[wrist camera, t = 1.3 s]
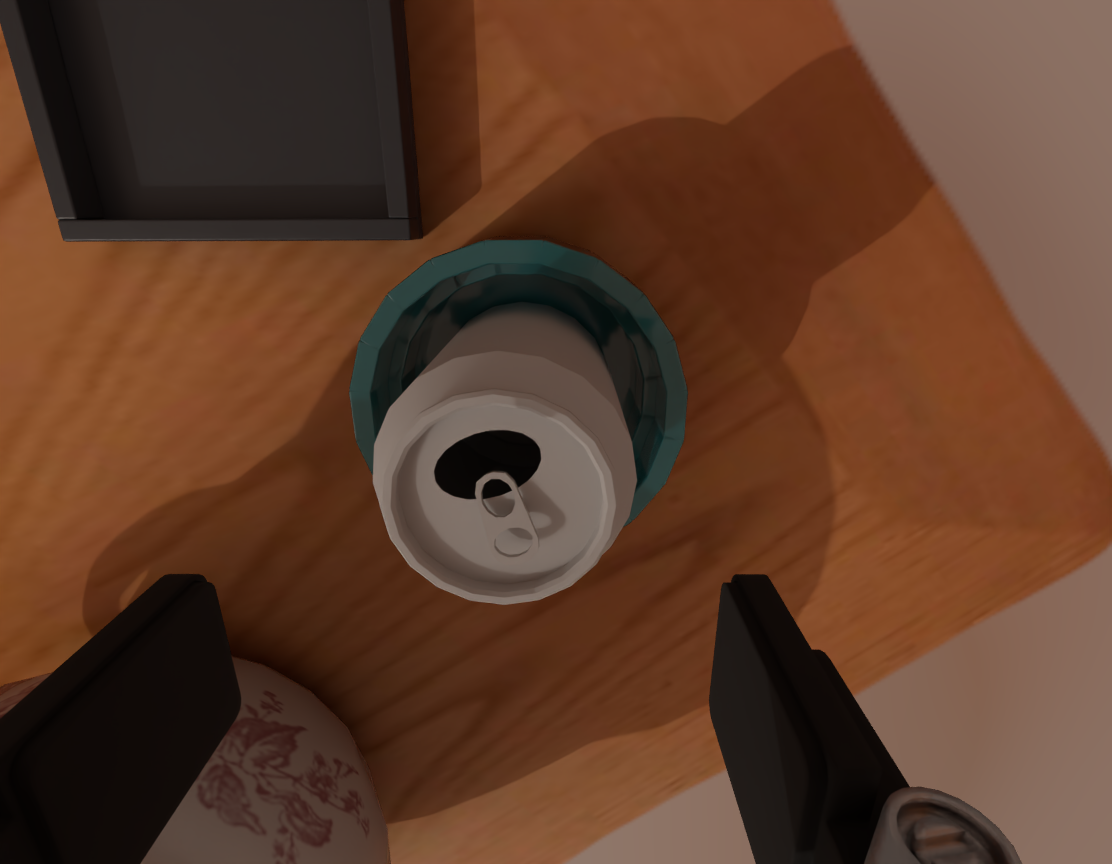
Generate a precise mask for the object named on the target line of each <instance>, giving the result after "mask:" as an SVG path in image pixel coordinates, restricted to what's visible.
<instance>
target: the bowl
mask: <svg viewBox="0 0 1112 864" xmlns="http://www.w3.org/2000/svg"><path fill="white" fill-rule="evenodd" d="M516 302H528V303H535V304H541V305H548V306H551V307H553V308H555V309H557V310H559V311H561V312H563V313H565V314H567V315H569V316H571V317H573V318H575V319H576V320H577V321H578V322H579V323H580V324H581V325H582V326H583V327H584V328H585V329H586V330H587V331H588V332H589V333H590V334H591V335H592V336H593V337H594V338H595V340H596V342H597V344H598V346H599V348H600V350H601V352H602V354H603V356H604V358H605V360H606V362H607V365H608V368H609V371H610V374H611V377H612V380H613V384H614V387H615V390H616V393H617V396H618V399H619V403H620V406H621V409H622V412H623V415H624V418H625V422H626V425H627V428H628V431H629V434H630V437H631V441H632V446H633V454H634V461H635V468H636V476H637V483H636V487H635V492H634V497H633V501H632V506H631V511H630V516H629V518H628V519H627V521H626V523H625V524H624V526H626V525H628V524H629V523H631V522H632V520H634V519H635V518H636V517H637V516H638V515H639V514H640V512H641V511H642V510H643V509H644V508H645V507H646V506H647V504H648V503H649V502H650V501H651V500H652V499H653V498H654V496H655V495H656V494H657V493H658V492H659V491H660V490H661V488H662V487H663V485H665V484H666V481H667V479H668V477H669V474H670V472H671V470H672V467H673V465H674V463H675V460H676V458H677V456H678V453H679V451H680V449H681V446H682V444H683V442H684V435H685V423H686V410H687V397H688V390H687V384H686V380H685V377H684V373H683V369H682V365H681V361H680V357H679V353H678V350H677V346H676V342H675V340H674V338H673V336H672V334H671V333H670V331H669V330H668V328H667V327H666V325H665V324H664V322H663V321H662V319H661V318H660V316H659V315H658V313H657V311H656V310H655V308H654V307H653V305H652V304H651V302H650V301H649V299H648V298H647V296H646V295H645V294H644V293H643V292H642V291H641V290H640V289H639V288H638V287H637V286H636V285H634V284H633V283H632V282H631V281H630V280H629V279H628V278H626V277H625V276H624V275H623V274H621V273H620V272H619V271H617V270H616V269H615V268H613V267H612V266H611V265H609V264H608V263H607V262H606V261H604V260H603V259H602V258H600V257H599V256H598V255H596V254H595V253H594V252H591V251H590V250H587V249H584V248H581V247H578V246H575V245H572V244H569V243H566V242H563V241H560V240H557V239H554V238H551V237H546V236H496V237H493V238H489V239H486V240H482V241H479V242H477V243H474V244H471V245H468V246H465V247H462V248H460V249H457V250H454V251H451V252H448V253H445V254H443V255H440V256H437V257H434V258H432V259H430V260H428V261H427V262H426V263H424V264H423V265H422V266H421V267H419V268H418V269H417V270H416V271H414V272H413V273H412V274H411V275H410V276H408V277H407V278H406V279H405V280H403V281H402V282H401V283H400V284H398V285H397V286H396V287H395V288H393V289H392V290H391V291H390V292H389V293H388V295H386V296H385V298H384V300H383V301H382V303H381V305H380V306H379V308H378V309H377V311H376V313H375V314H374V316H373V318H372V319H371V321H370V323H369V324H368V326H367V328H366V329H365V331H364V333H363V334H362V336H361V338H360V341H359V343H358V348H357V353H356V358H355V363H354V368H353V373H352V378H351V383H350V388H349V389H350V391H349V395H350V402H351V410H352V417H353V424H354V432H355V439H356V442H357V444H358V447H359V449H360V451H361V453H362V455H363V457H364V459H365V461H366V463H367V465H368V467H369V469H370V471H371V473H372V475H373V462H374V444H375V441H376V439H377V436H378V434H379V431H380V429H381V426H382V424H383V422H384V419H385V417H386V414H387V412H388V409H389V408H390V407H391V405H392V404H393V403H394V402H395V401H396V400H397V399H398V398H399V397H400V396H401V394H402V393H403V392H404V391H405V390H406V389H407V388H408V387H409V386H410V385H411V383H412V382H413V381H414V380H415V379H416V378H417V377H418V376H419V375H420V374H421V372H422V371H423V370H424V369H425V368H426V367H427V366H428V365H429V364H430V363H431V361H432V360H433V359H434V358H435V357H436V356H437V355H438V354H439V353H440V352H441V350H442V349H443V348H444V347H445V346H446V345H447V344H448V343H449V342H450V341H451V339H452V338H453V337H454V336H455V335H456V334H457V333H458V332H459V331H460V330H461V328H462V327H463V326H464V325H465V324H466V323H467V322H468V321H469V320H470V319H472V318H474V317H475V316H477V315H479V314H481V313H483V312H485V311H486V310H488V309H490V308H492V307H494V306H499V305H505V304H511V303H516ZM624 526H623V527H624Z"/></svg>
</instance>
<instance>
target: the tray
mask: <svg viewBox="0 0 1112 864" xmlns="http://www.w3.org/2000/svg"><path fill="white" fill-rule="evenodd" d="M0 24H1V27H2V31H3V34H4V37H5V41H6V44H7V48H8V51H9V55H10V58H11V62H12V65H13V69H14V72H15V76H16V79H17V82H18V86H19V89H20V93H21V96H22V100H23V103H24V107H25V110H26V114H27V117H28V121H29V124H30V127H31V131H32V134H33V138H34V141H35V145H36V148H37V152H38V155H39V159H40V162H41V166H42V169H43V172H44V176H45V179H46V183H47V186H48V190H49V193H50V197H51V200H52V204H53V207H54V211H55V214H56V217H57V219H60V220H59V221H58V224H59V227H60V231H61V234H62V238H63V240H64V241H67V242H71V241H324V240H414V239H422V238H423V233H422V220H421V208H420V195H419V183H418V171H417V158H416V146H415V133H414V121H413V109H412V96H411V84H410V71H409V59H408V47H407V34H406V22H405V9H404V0H0Z"/></svg>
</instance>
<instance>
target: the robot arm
mask: <svg viewBox="0 0 1112 864" xmlns="http://www.w3.org/2000/svg"><path fill="white" fill-rule="evenodd" d="M240 707H241V693H240V689H239V685H238V681H237V676H236V672H235V668H234V664H233V660H232V655H231V651H230V647H229V643H228V639H227V635H226V630H225V626H224V622H223V618H222V614H221V610H220V605H219V601H218V597H217V593H216V589H215V587H214V585H213V584H212V583H210V582H207V580H206V578H205V577H204V576H203V575H200V574H168V575H165V576H163V577H161V578H160V579H159V580H158V581H157V582H155V583H154V584H153V585H152V586H151V587H150V588H149V589H147V590H146V591H145V592H144V593H143V594H142V595H141V596H139V597H138V598H137V599H136V600H135V601H134V602H133V603H131V604H130V605H129V606H128V607H127V608H126V609H125V610H123V611H122V612H121V613H120V614H119V615H118V616H117V617H115V618H114V619H113V620H112V621H111V622H110V623H109V624H107V625H106V626H105V627H104V628H103V629H102V630H101V631H100V632H98V633H97V634H96V635H95V636H94V637H93V638H92V639H90V640H89V641H88V642H87V643H86V644H85V645H84V646H82V647H81V648H80V649H79V650H78V651H77V652H76V653H74V654H73V655H72V656H71V657H70V658H69V659H68V660H66V661H65V662H64V663H63V664H62V665H61V666H60V667H58V668H57V669H56V670H55V671H54V672H53V673H52V674H50V675H49V676H48V677H47V678H46V679H45V680H44V681H42V682H41V683H40V684H39V685H38V686H37V687H36V688H34V689H33V690H32V691H31V692H30V693H29V694H28V695H27V696H25V697H24V698H23V699H22V700H21V701H20V702H19V703H17V704H16V705H15V706H14V707H13V708H12V709H11V710H9V711H8V712H7V713H6V714H5V715H4V716H3V717H1V718H0V864H141V862H142V861H143V859H144V858H145V856H146V855H147V853H148V852H149V850H150V849H151V847H152V846H153V844H154V842H155V841H156V839H157V838H158V836H159V835H160V833H161V832H162V830H163V829H164V827H165V826H166V824H167V823H168V821H169V820H170V818H171V817H172V815H173V814H174V812H175V811H176V809H177V808H178V806H179V805H180V803H181V802H182V800H183V799H184V797H185V796H186V794H187V792H188V791H189V789H190V788H191V786H192V785H193V783H194V782H195V780H196V779H197V777H198V776H199V774H200V773H201V771H202V770H203V768H204V767H205V765H206V764H207V762H208V761H209V759H210V758H211V756H212V755H213V753H214V752H215V750H216V749H217V747H218V745H219V744H220V742H221V741H222V739H223V738H224V736H225V735H226V733H227V732H228V730H229V729H230V727H231V726H232V724H233V723H234V721H235V720H236V718H237V716H238V714H239V711H240ZM709 707H710V714H711V719H712V723H713V726H714V729H715V732H716V736H717V739H718V742H719V745H720V749H721V752H722V755H723V758H724V762H725V765H726V768H727V771H728V775H729V778H730V781H731V784H732V787H733V791H734V794H735V797H736V801H737V804H738V807H739V810H740V814H741V817H742V820H743V823H744V827H745V830H746V833H747V836H748V840H749V843H750V846H751V849H752V853H753V856H754V859H755V862H756V864H1022V862H1021V860H1020V858H1019V856H1018V854H1017V852H1016V850H1015V848H1014V846H1013V845H1012V844H1011V842H1010V841H1009V840H1008V839H1007V838H1006V836H1005V835H1004V834H1003V833H1002V831H1001V830H1000V829H999V828H998V827H997V826H996V825H995V824H993V822H991V821H990V820H989V819H988V818H987V817H986V816H984V815H983V814H982V813H981V812H980V811H978V810H977V809H975V808H973V807H972V806H970V805H969V804H967V803H965V802H964V801H962V800H960V799H959V798H956V797H953V796H951V795H949V794H946V793H944V792H942V791H939V790H935V789H929V788H924V787H910V786H909V785H908V783H907V782H906V780H905V778H904V777H903V775H902V774H901V772H900V770H899V769H898V767H897V766H896V764H895V762H894V761H893V759H892V758H891V756H890V754H889V753H888V751H887V750H886V748H885V746H884V745H883V743H882V742H881V740H880V739H879V737H878V735H877V734H876V732H875V730H874V729H873V727H872V726H871V724H870V722H869V721H868V719H867V718H866V716H865V714H864V713H863V711H862V710H861V708H860V707H859V705H858V703H857V702H856V700H855V698H854V697H853V695H852V694H851V692H850V690H849V689H848V687H847V686H846V684H845V682H844V681H843V679H842V678H841V676H840V674H839V673H838V671H837V670H836V668H835V666H834V665H833V663H832V662H831V660H830V659H829V657H828V656H827V655H826V654H825V653H824V652H823V651H821V650H812V649H811V648H810V646H809V644H808V643H807V641H806V639H805V638H804V636H803V634H802V632H801V631H800V629H799V627H798V626H797V624H796V622H795V621H794V619H793V617H792V616H791V614H790V612H789V611H788V609H787V607H786V606H785V604H784V602H783V601H782V599H781V597H780V596H779V594H778V592H777V590H776V589H775V587H774V585H773V584H772V582H771V580H770V579H769V577H768V576H767V575H764V574H735V575H734V576H733V577H732V580H731V583H723V584H722V587H721V595H720V604H719V613H718V622H717V631H716V640H715V649H714V659H713V668H712V677H711V686H710V695H709Z"/></svg>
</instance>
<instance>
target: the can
mask: <svg viewBox="0 0 1112 864" xmlns="http://www.w3.org/2000/svg"><path fill="white" fill-rule="evenodd" d="M636 483H637V476H636V468H635V461H634V454H633V446H632V441H631V437H630V434H629V431H628V428H627V425H626V422H625V418H624V415H623V412H622V409H621V406H620V403H619V399H618V396H617V393H616V390H615V387H614V384H613V380H612V377H611V374H610V371H609V368H608V365H607V362H606V360H605V358H604V356H603V354H602V352H601V350H600V348H599V346H598V344H597V342H596V340H595V338H594V337H593V336H592V335H591V334H590V333H589V332H588V331H587V330H586V329H585V328H584V327H583V326H582V325H581V324H580V323H579V322H578V321H577V320H576V319H575V318H573V317H571V316H569V315H567V314H565V313H563V312H561V311H559V310H557V309H555V308H553V307H551V306H548V305H541V304H535V303H528V302H516V303H511V304H505V305H499V306H494V307H492V308H490V309H488V310H486V311H485V312H483V313H481V314H479V315H477V316H475V317H474V318H472V319H470V320H469V321H468V322H467V323H466V324H465V325H464V326H463V327H462V328H461V330H460V331H459V332H458V333H457V334H456V335H455V336H454V337H453V338H452V339H451V341H450V342H449V343H448V344H447V345H446V346H445V347H444V348H443V349H442V350H441V352H440V353H439V354H438V355H437V356H436V357H435V358H434V359H433V360H432V361H431V363H430V364H429V365H428V366H427V367H426V368H425V369H424V370H423V371H422V372H421V374H420V375H419V376H418V377H417V378H416V379H415V380H414V381H413V382H412V383H411V385H410V386H409V387H408V388H407V389H406V390H405V391H404V392H403V393H402V394H401V396H400V397H399V398H398V399H397V400H396V401H395V402H394V403H393V404H392V405H391V407H390V408H389V409H388V412H387V414H386V417H385V419H384V422H383V424H382V426H381V429H380V431H379V434H378V436H377V439H376V441H375V444H374V462H373V485H374V488H375V491H376V494H377V497H378V501H379V504H380V509H381V512H382V515H383V518H384V521H385V524H386V528H387V531H388V534H389V537H390V539H391V541H392V542H393V543H394V545H395V546H396V547H397V549H398V550H399V552H400V553H401V554H402V556H403V557H404V559H405V560H406V561H407V563H408V564H409V566H410V567H412V568H413V569H414V570H416V571H417V572H418V573H420V574H421V575H422V576H423V577H425V578H426V579H427V580H429V581H430V582H431V583H432V584H434V585H435V586H436V587H438V588H440V589H443V590H445V591H448V592H450V593H453V594H455V595H458V596H460V597H463V598H465V599H468V600H470V601H478V602H486V603H494V604H502V605H507V604H515V603H522V602H529V601H536V600H541V599H543V598H545V597H547V596H550V595H552V594H554V593H557V592H559V591H561V590H563V589H566V588H568V587H570V586H572V585H573V584H574V583H575V582H576V581H578V580H579V579H580V578H581V577H582V576H583V575H585V574H586V573H587V572H588V571H589V570H590V569H592V568H593V567H594V566H595V565H596V564H597V562H598V561H599V559H600V557H601V556H602V554H604V553H605V552H606V551H607V550H608V549H609V548H610V547H611V546H612V544H613V542H614V541H615V539H616V537H617V536H618V534H619V533H620V531H621V529H622V528H623V526H624V524H625V523H626V521H627V519H628V518H629V516H630V511H631V506H632V501H633V497H634V492H635V487H636Z"/></svg>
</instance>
